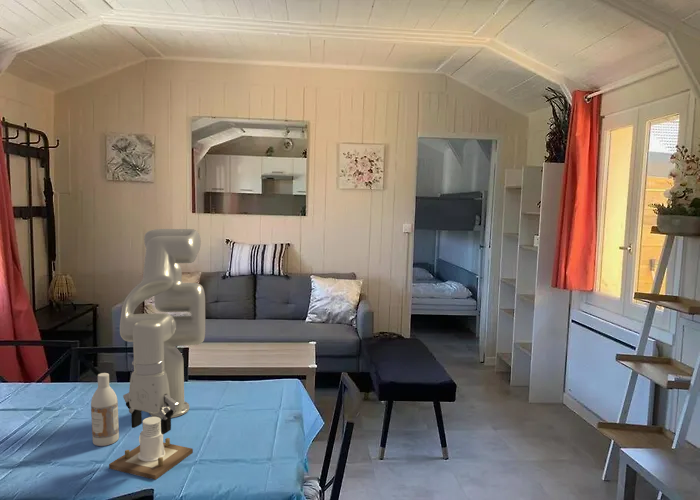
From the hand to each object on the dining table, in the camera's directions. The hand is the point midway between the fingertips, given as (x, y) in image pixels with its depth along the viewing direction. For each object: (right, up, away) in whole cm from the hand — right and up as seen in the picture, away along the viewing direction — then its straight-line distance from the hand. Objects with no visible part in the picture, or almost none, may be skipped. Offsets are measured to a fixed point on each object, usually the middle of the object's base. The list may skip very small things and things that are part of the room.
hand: (151, 428), depth 142 cm
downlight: (0, -8, +1) cm, 8 cm away
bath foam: (-17, -8, +12) cm, 22 cm away
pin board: (0, -9, +1) cm, 9 cm away
